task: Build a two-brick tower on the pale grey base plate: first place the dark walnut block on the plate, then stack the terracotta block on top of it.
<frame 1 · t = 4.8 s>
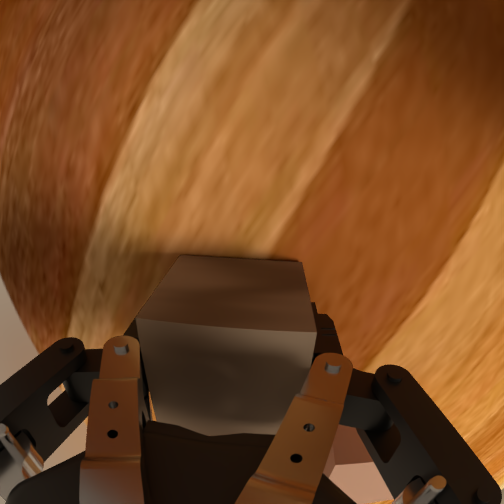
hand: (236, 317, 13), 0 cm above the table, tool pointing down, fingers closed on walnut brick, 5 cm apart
terracotta brick: (356, 416, 16), on the table
walnut brick: (238, 311, 14), on the table, touching gripper
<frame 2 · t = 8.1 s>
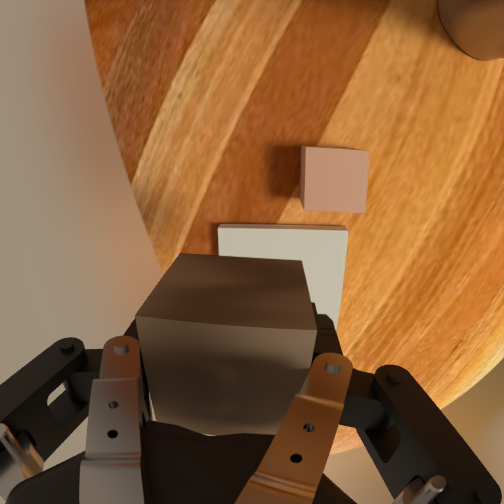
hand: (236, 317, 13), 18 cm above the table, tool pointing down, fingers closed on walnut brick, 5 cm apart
terracotta brick: (327, 173, 28), on the table
walnut brick: (238, 310, 14), point 17 cm above the table, touching gripper
base plate: (281, 281, 32), on the table
when the fingers open (3 cm above the table, at t = 11.7 s): walnut brick drops 1 cm, resting on base plate.
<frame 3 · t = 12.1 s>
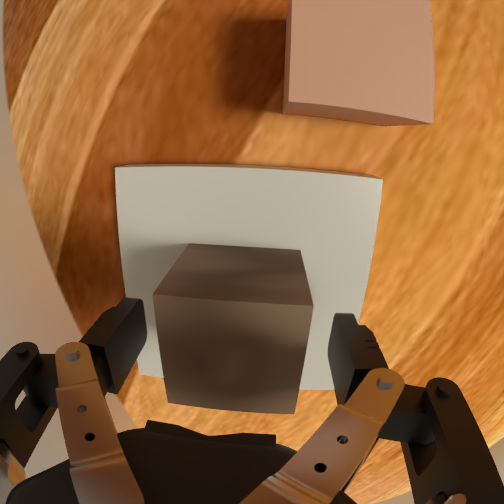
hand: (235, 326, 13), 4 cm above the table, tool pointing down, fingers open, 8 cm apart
terracotta brick: (337, 69, 13), on the table
walnut brick: (242, 296, 15), point 1 cm above the table, touching base plate
base plate: (243, 282, 17), on the table
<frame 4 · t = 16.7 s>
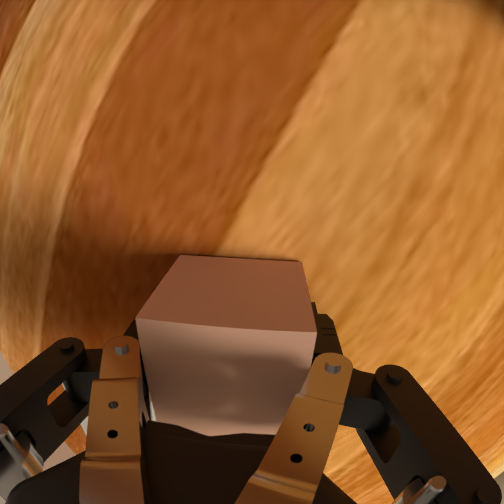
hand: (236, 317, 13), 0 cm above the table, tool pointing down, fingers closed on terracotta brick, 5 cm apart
terracotta brick: (238, 311, 14), on the table, touching gripper
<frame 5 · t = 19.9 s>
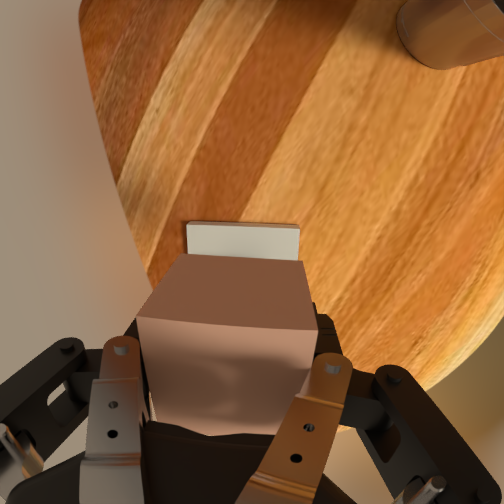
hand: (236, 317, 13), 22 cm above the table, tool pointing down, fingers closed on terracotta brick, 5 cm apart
terracotta brick: (239, 310, 14), point 21 cm above the table, touching gripper
base plate: (243, 273, 37), on the table
when the fingers open (8 cm above the table, at t = 23.3 s): terracotta brick drops 1 cm, resting on walnut brick.
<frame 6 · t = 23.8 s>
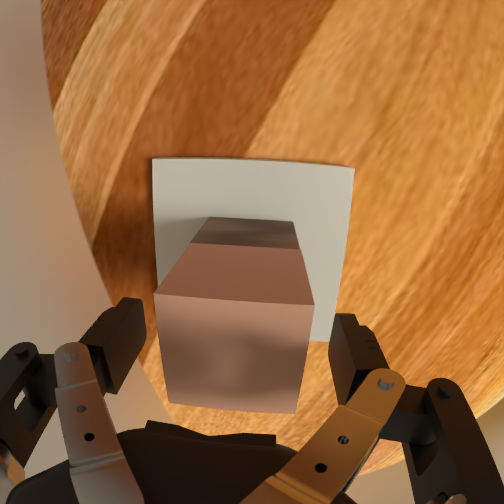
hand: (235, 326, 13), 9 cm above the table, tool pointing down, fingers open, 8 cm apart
terracotta brick: (243, 295, 15), point 6 cm above the table, touching walnut brick
walnut brick: (249, 258, 20), point 1 cm above the table, touching base plate, terracotta brick
base plate: (249, 250, 21), on the table
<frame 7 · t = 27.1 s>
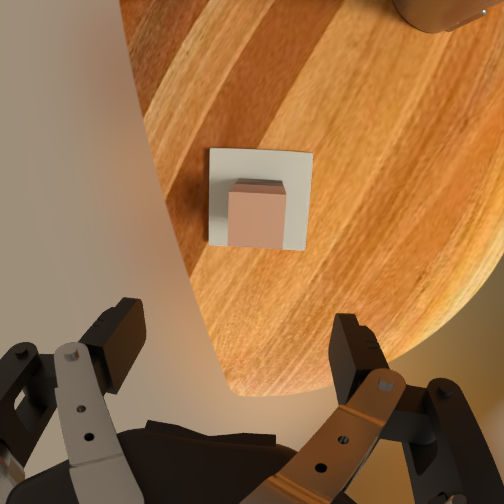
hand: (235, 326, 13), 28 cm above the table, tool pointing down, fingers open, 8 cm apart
terracotta brick: (258, 208, 33), point 6 cm above the table, touching walnut brick
walnut brick: (259, 200, 38), point 1 cm above the table, touching base plate, terracotta brick
base plate: (259, 197, 39), on the table
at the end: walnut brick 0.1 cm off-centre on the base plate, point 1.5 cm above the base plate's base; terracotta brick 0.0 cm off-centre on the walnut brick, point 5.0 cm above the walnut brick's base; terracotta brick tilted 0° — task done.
